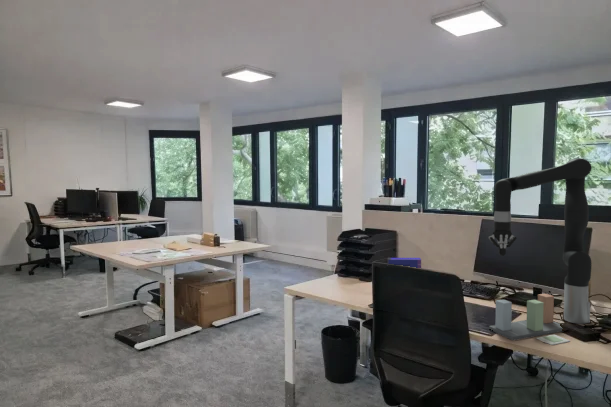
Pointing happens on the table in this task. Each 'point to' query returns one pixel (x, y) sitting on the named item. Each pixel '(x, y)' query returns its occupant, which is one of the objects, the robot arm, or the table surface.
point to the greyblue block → (503, 314)
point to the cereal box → (405, 262)
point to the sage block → (535, 315)
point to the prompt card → (553, 339)
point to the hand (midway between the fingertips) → (502, 255)
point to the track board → (526, 330)
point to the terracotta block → (547, 307)
